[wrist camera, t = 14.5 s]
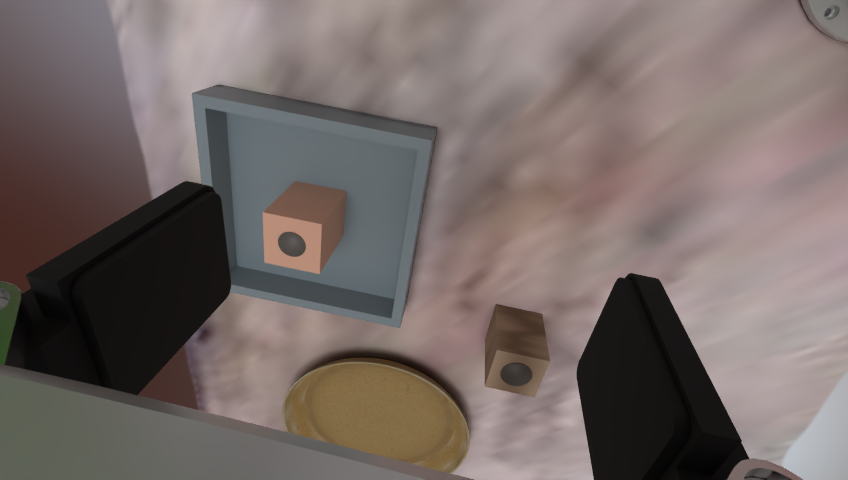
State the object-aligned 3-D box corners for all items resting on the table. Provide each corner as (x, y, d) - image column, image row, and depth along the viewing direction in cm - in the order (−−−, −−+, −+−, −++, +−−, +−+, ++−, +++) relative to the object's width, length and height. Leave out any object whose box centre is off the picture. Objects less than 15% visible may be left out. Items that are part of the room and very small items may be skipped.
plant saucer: (470, 348, 50) (468, 369, 48) (471, 475, 62) (470, 498, 59) (275, 338, 54) (262, 357, 51) (310, 460, 66) (302, 481, 63)
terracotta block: (346, 191, 41) (321, 225, 35) (343, 235, 44) (319, 274, 38) (295, 180, 42) (262, 212, 36) (295, 226, 44) (263, 263, 38)
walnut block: (541, 313, 46) (550, 362, 40) (529, 347, 49) (534, 397, 43) (496, 304, 47) (496, 350, 41) (485, 338, 49) (484, 387, 43)
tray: (437, 127, 38) (432, 140, 35) (406, 304, 48) (399, 328, 45) (218, 84, 39) (191, 93, 35) (232, 267, 49) (213, 288, 45)
